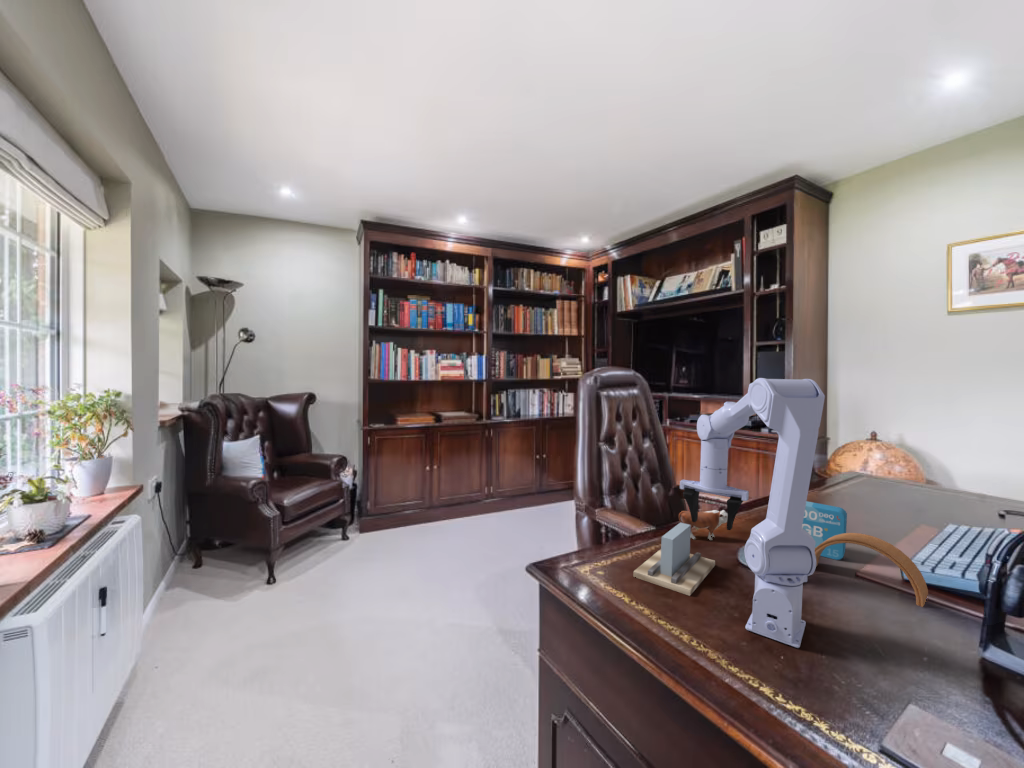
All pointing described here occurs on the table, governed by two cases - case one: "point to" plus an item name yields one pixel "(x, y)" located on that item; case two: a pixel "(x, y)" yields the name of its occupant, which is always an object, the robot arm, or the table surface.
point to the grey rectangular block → (675, 549)
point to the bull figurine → (704, 520)
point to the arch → (886, 550)
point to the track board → (682, 579)
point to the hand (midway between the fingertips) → (711, 524)
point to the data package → (825, 527)
